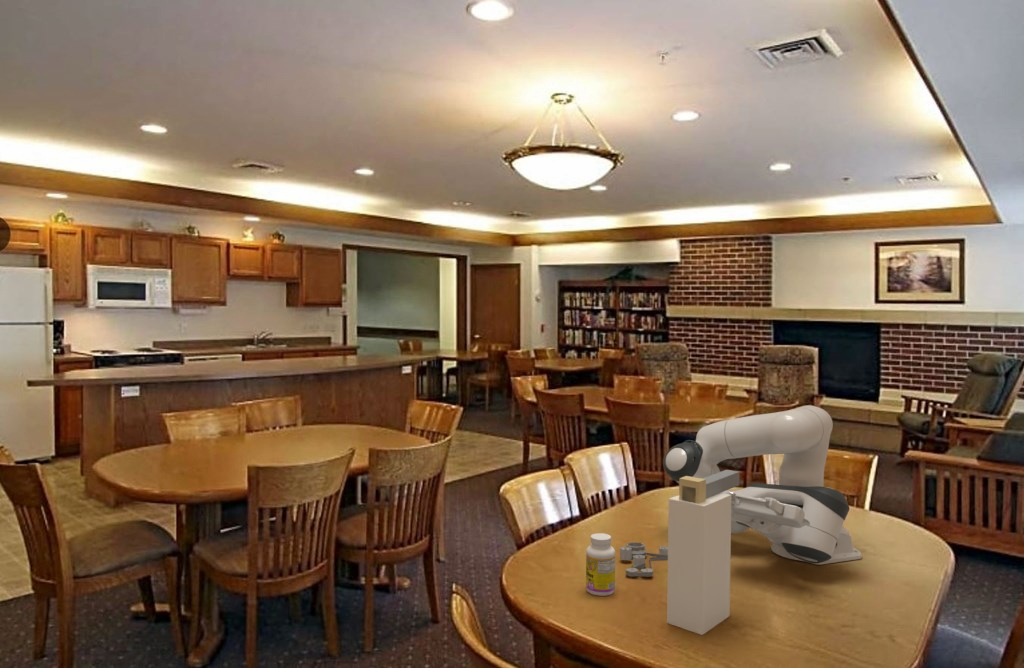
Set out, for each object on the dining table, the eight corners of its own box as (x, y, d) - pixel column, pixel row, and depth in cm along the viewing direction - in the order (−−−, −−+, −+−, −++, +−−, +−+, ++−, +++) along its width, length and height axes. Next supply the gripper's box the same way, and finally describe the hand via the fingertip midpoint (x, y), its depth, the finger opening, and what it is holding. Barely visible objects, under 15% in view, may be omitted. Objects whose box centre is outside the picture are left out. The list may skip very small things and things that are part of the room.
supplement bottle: (583, 586, 166) (583, 531, 165) (611, 585, 166) (611, 531, 166) (588, 597, 159) (589, 541, 159) (617, 596, 160) (618, 540, 159)
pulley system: (593, 570, 179) (642, 584, 168) (593, 551, 179) (642, 564, 168) (656, 549, 197) (704, 560, 187) (656, 532, 198) (704, 542, 187)
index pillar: (695, 604, 156) (697, 487, 155) (730, 615, 150) (732, 494, 149) (667, 622, 147) (668, 498, 146) (702, 635, 141) (704, 506, 140)
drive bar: (723, 482, 160) (723, 463, 160) (742, 485, 157) (742, 466, 157) (679, 499, 145) (679, 478, 145) (698, 503, 142) (699, 481, 142)
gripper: (809, 538, 166) (790, 521, 157) (727, 520, 180) (705, 503, 171) (814, 513, 168) (796, 493, 159) (733, 497, 182) (712, 478, 173)
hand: (748, 498), depth 165 cm, fingers open, 8 cm apart
